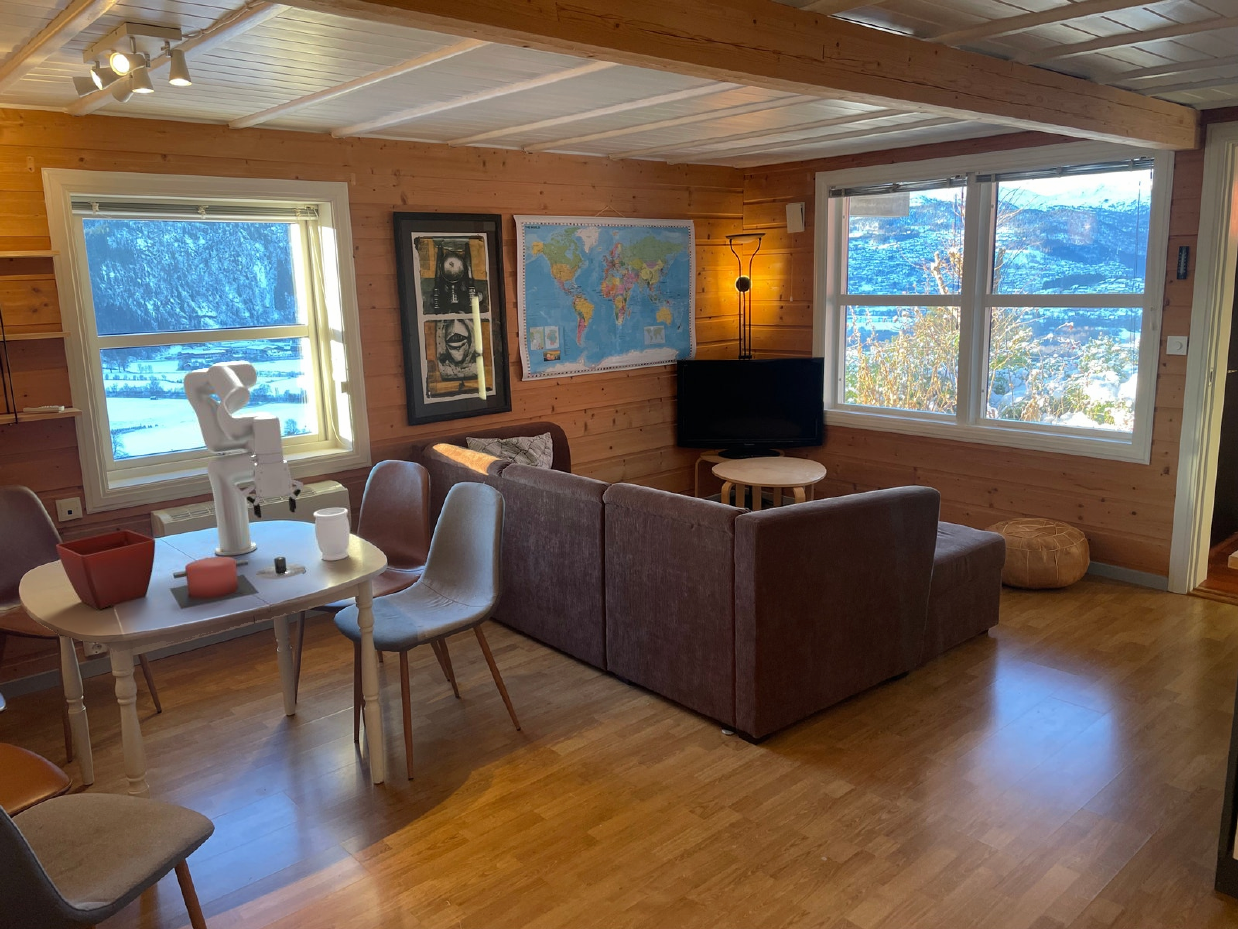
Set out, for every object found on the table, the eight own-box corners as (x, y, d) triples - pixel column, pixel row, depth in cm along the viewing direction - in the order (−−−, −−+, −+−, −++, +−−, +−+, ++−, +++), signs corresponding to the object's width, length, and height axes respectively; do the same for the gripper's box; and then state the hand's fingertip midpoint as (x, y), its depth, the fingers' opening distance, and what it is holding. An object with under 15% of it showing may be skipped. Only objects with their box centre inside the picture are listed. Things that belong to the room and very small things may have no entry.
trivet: (170, 590, 260) (169, 588, 259) (243, 576, 270) (243, 574, 270) (181, 610, 243) (181, 608, 243) (259, 594, 254) (258, 592, 254)
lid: (251, 573, 275) (250, 557, 274) (298, 564, 282) (297, 548, 281) (262, 585, 263) (260, 569, 262) (311, 575, 271) (309, 559, 270)
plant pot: (134, 583, 267) (126, 528, 263) (164, 596, 255) (156, 539, 251) (63, 602, 252) (54, 544, 249) (91, 617, 240) (82, 556, 237)
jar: (345, 562, 282) (341, 515, 279) (313, 562, 282) (308, 516, 279) (356, 551, 292) (352, 506, 289) (324, 552, 293) (320, 507, 289)
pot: (173, 591, 257) (169, 564, 255) (244, 577, 267) (241, 552, 266) (180, 604, 246) (177, 576, 245) (254, 589, 257) (251, 562, 255)
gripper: (241, 464, 258) (248, 522, 261) (303, 456, 267) (308, 512, 271) (235, 460, 264) (242, 516, 267) (296, 452, 273) (301, 507, 277)
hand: (275, 514), depth 269 cm, fingers open, 9 cm apart
